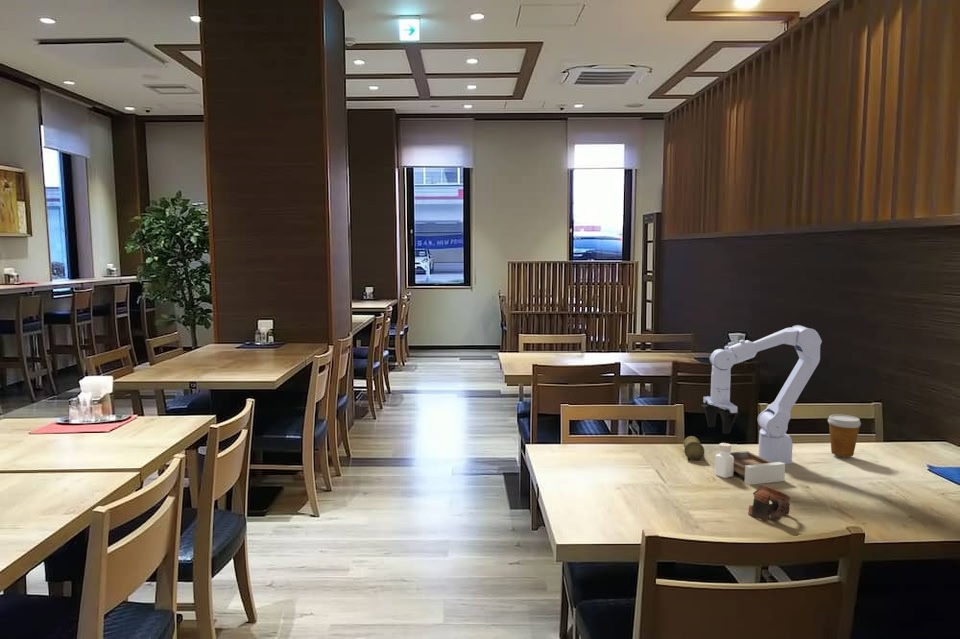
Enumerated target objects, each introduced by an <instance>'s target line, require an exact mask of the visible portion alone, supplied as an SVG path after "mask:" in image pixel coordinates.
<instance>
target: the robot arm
mask: <svg viewBox="0 0 960 639" xmlns="http://www.w3.org/2000/svg"><path fill="white" fill-rule="evenodd" d="M822 342H823V340H822V338H821V336H820V335H819V333H818V331H816V329H814V328H809V327H806V326H803V325H800V324H796V325H793V326H792V327H786V328H784V329H781V330H778V331H776V332H773V333H772V334H769V335H766V336H764V337H762V338H760V339H757V340H754V341H750V340H748V339H746V340H744V339H740V340H739V341H738V342H737V343H734V344H732V345H729V346H728V345H725V346H724V347H723V348H724V349H723V348H718V349H715V350H714V351H713V352H711V354H710V356H709V358H708V359H709V362H710V363H711V374H710V376H711V377H710V396H709V395H707V396H703V403H704V404H701V408H702V410H703V412H704V415H705V418H706V423H707V427H708V428H715V426H716V424H717V417H718V416H717V415H718V412H719V415H720V417H721V422H722V423H721V424H722V425H721V427H722V434H725V435H726V434H731V431H732V428H733V425H734V423H735V421H736V419H737V417H738V416H739V414H740V413H739V411H738V406H737V405H735V404H734V403H732V402H731V375H732V374H731V370H732V367H733V366H734V365H736V364H739V363H742V362H744V361H747V360H750V359H753V358H755V357H756V355H757V354H758V352H761V351H764V350H767V349H770V348H773V347H777V346H780V345H789V346H793V347H794V349H795V351H796V353H797V355H798V360H797V362H796V364H795V366H794V367H793V369H792V370H791V372H790V374H789V375H788V377H787V379H786V381H785V382H784V384H783V386H782V387H781V389H780V391H779V392H778V394H777V396H776V398H775V399H774V401H773V402H771V403H770V404H768V405H767V407H766V408H765V409H764V410H763V411H761V412H760V413H759V414H758V416H757V424H758V425H759V427H760V429H759V433H758V434H759V435H758V455H757V456H759V457H761V458H763V459H766V460H768V461H770V462H772V463H774V462H782V463H784V464H785V465H786V464H787V465H789V464H794V461H793V440H792V437H791V436H790V435H789V434H787V431H788V428H789V427H788V426H789V422H790V421H791V410H792V409H793V407H794V405H795V404H796V402H797V401H798V399H799V397H800V395H801V393H802V392H803V391H804V389H805V386H806V385H807V384H808V382H809V380H810V378H811V376H812V375H813V373H814V371H815V370H816V368H817V367H818V365H819V363H820V361H821V345H822ZM720 409H722V410H720Z"/></svg>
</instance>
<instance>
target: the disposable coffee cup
mask: <svg viewBox="0 0 960 639" xmlns="http://www.w3.org/2000/svg"><path fill="white" fill-rule="evenodd" d="M827 422H828V424H829V425H828V426H829V437H830V439H829V440H830V450H831V451H830V452H831V454H833V455H835V456H838V457H844V458H846V457H847V458H850V457H854V454H855V449H856V445H857V439H858V436H859V431H860V427H861V425H862V422H861V420H860V418H858V417H856V416H853V415H848V414H847V415H846V414H831V415H829V417H828V419H827Z"/></svg>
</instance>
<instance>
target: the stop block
mask: <svg viewBox="0 0 960 639" xmlns="http://www.w3.org/2000/svg"><path fill="white" fill-rule="evenodd" d="M785 476H786V464H784V463H782V462H774V463H764V464H755V465H746V466H745V478H744V483H745V484H747V485H748V486H751V485H759V484H760V485H761V484H769V483H770V484H771V483H777V482H784V481H785Z"/></svg>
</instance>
